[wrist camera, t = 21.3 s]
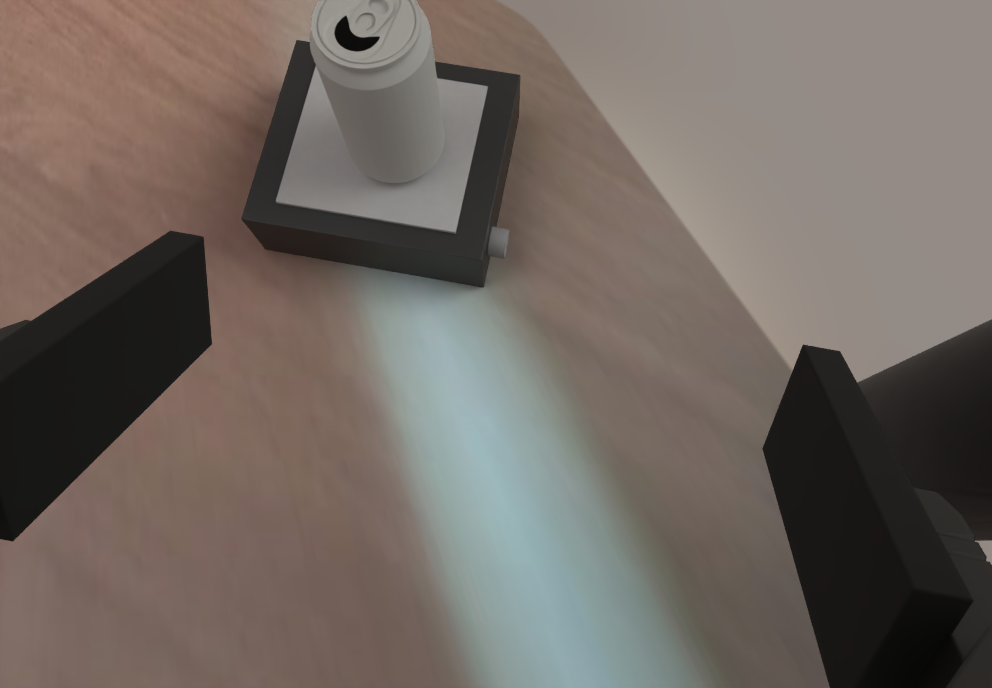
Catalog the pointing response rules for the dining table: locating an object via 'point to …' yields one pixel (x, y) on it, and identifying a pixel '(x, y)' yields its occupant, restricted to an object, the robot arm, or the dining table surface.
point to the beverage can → (381, 84)
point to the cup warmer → (388, 206)
